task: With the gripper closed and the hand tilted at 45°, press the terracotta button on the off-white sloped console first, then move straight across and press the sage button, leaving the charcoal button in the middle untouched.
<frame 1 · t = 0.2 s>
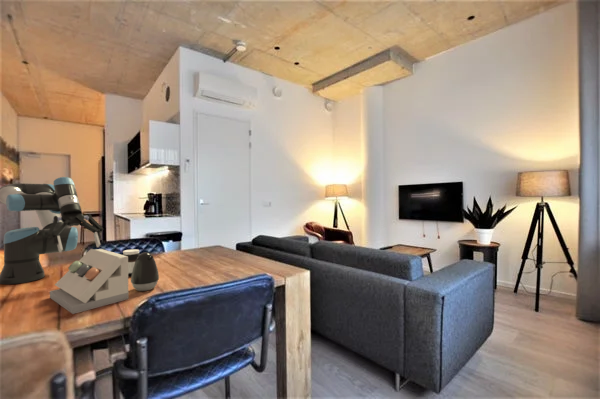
hand: (80, 248, 127), 16 cm above the table, tool tilted 35°, fingers open, 13 cm apart
button console: (91, 297, 111), on the table
sage button: (75, 266, 113), point 11 cm above the table, slide at 0.0 cm
spread jar: (126, 275, 142), on the table
terracotta button: (92, 274, 103), point 11 cm above the table, slide at 0.0 cm
charcoal button: (83, 270, 108), point 11 cm above the table, slide at 0.0 cm
dark grey egg figure: (145, 289, 121), on the table
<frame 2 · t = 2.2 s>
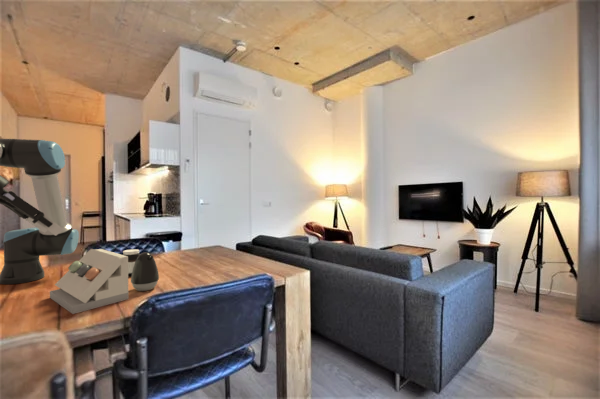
hand: (53, 230, 94), 27 cm above the table, tool tilted 45°, fingers open, 11 cm apart
nothing on the table moved.
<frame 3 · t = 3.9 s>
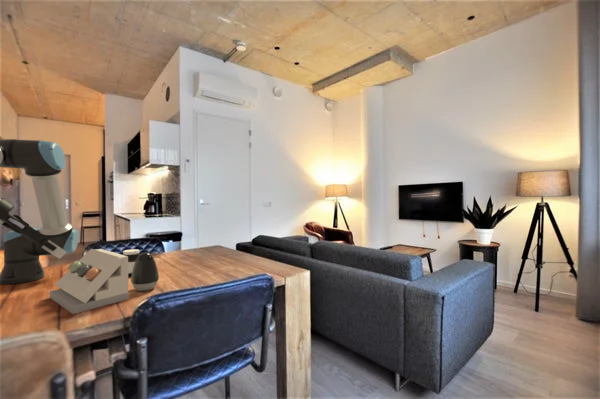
hand: (62, 255, 96), 19 cm above the table, tool tilted 45°, fingers closed
nothing on the table moved.
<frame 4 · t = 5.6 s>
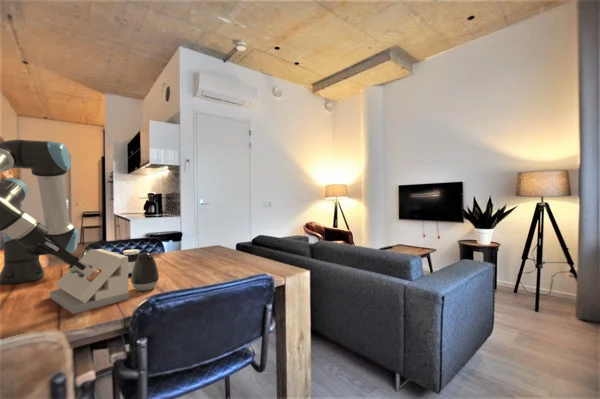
hand: (90, 273, 103), 11 cm above the table, tool tilted 45°, fingers closed
terracotta button: (94, 275, 104), point 10 cm above the table, slide at 0.7 cm, touching gripper
everything else where it was.
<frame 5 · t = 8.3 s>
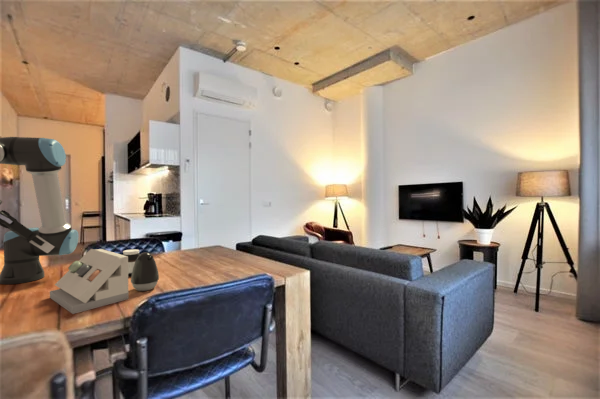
hand: (50, 249, 99), 20 cm above the table, tool tilted 45°, fingers closed
terracotta button: (96, 276, 104), point 10 cm above the table, slide at 1.7 cm
everything else where it was.
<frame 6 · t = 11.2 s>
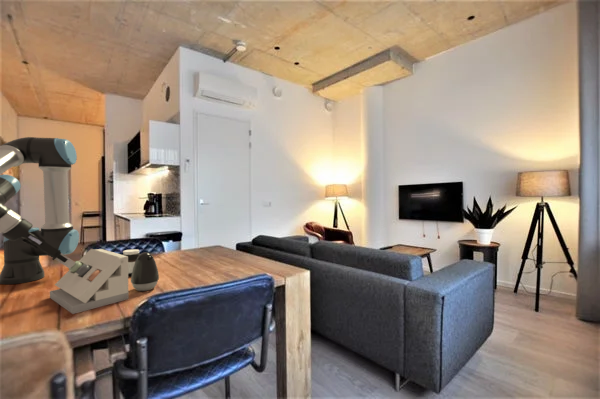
hand: (72, 265, 112), 12 cm above the table, tool tilted 45°, fingers closed
sage button: (76, 266, 113), point 11 cm above the table, slide at 0.1 cm, touching gripper
everything else where it was.
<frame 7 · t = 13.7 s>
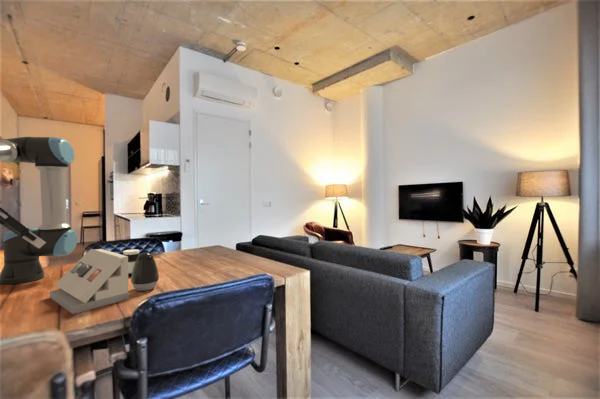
hand: (42, 245, 106), 21 cm above the table, tool tilted 45°, fingers closed
sage button: (79, 269, 114), point 10 cm above the table, slide at 1.8 cm
everything else where it was.
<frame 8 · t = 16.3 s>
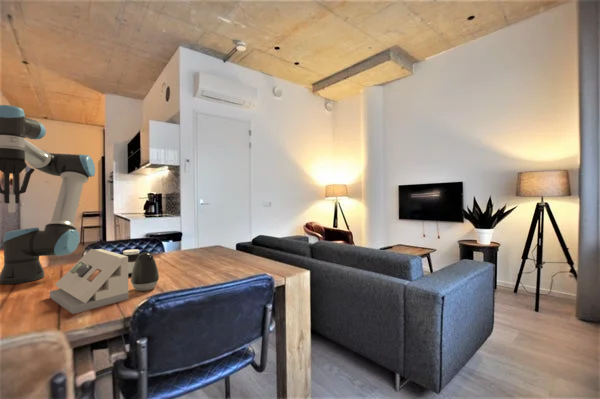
hand: (11, 212, 108), 32 cm above the table, tool pointing down, fingers closed
nothing on the table moved.
at the end: terracotta button slide at 1.7 cm; sage button slide at 1.8 cm; charcoal button slide at 0.0 cm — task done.
